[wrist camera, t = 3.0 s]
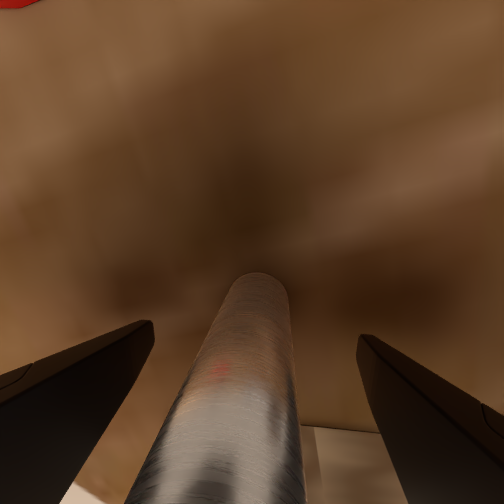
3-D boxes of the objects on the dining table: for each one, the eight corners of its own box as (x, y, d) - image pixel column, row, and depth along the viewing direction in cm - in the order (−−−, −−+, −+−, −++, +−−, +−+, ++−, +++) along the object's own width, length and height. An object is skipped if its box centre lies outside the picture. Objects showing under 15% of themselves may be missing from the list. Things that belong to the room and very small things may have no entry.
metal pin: (289, 273, 11) (364, 798, 2) (286, 329, 12) (325, 919, 2) (227, 270, 11) (-41, 692, 2) (228, 325, 12) (42, 829, 3)
